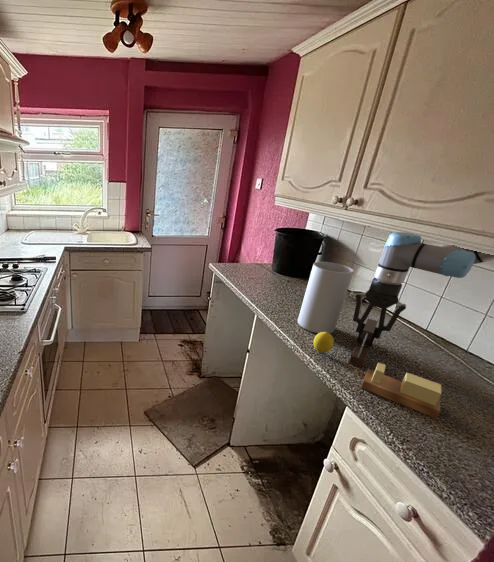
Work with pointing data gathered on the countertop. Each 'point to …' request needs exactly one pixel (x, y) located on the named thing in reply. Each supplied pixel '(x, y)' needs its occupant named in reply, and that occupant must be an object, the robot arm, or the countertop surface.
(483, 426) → the countertop surface
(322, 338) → the lemon
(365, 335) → the knife
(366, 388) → the board
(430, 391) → the butter
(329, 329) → the cylinder vase
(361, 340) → the knife stand
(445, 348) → the countertop surface
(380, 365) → the butter slice
